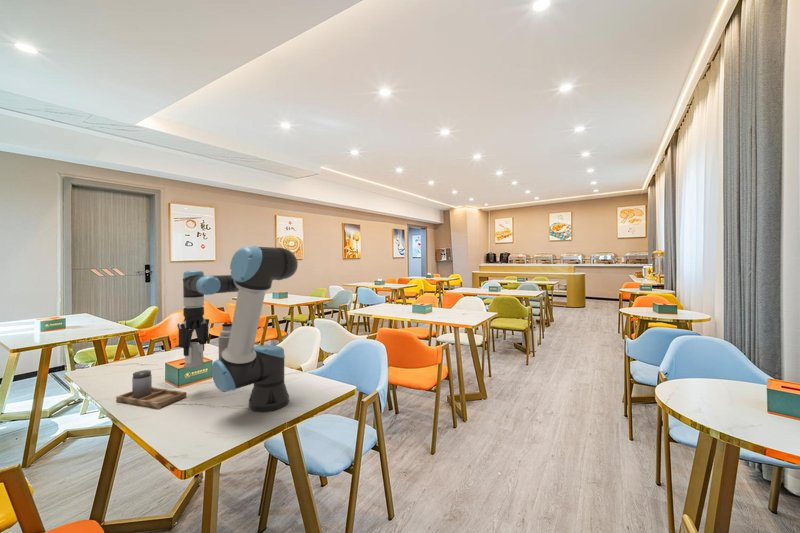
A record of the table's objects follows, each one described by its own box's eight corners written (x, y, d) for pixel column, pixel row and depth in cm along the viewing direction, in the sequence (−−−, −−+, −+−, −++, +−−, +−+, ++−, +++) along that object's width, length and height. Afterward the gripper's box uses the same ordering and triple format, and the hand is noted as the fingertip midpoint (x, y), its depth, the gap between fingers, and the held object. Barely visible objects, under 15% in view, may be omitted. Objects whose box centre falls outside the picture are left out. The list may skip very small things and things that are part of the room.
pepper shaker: (155, 394, 142) (155, 370, 142) (139, 400, 136) (139, 375, 136) (144, 392, 144) (144, 369, 144) (128, 398, 138) (128, 374, 138)
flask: (193, 369, 139) (192, 346, 138) (180, 368, 141) (178, 344, 140) (208, 363, 146) (207, 341, 145) (194, 362, 148) (193, 340, 147)
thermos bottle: (225, 379, 162) (225, 322, 162) (241, 380, 162) (240, 322, 161) (215, 385, 155) (214, 325, 154) (231, 386, 154) (231, 325, 153)
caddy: (186, 397, 141) (186, 392, 141) (158, 409, 129) (158, 403, 129) (146, 391, 148) (146, 386, 148) (116, 402, 136) (116, 396, 136)
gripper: (205, 303, 153) (205, 354, 153) (166, 309, 135) (167, 366, 136) (218, 304, 150) (218, 356, 151) (180, 310, 133) (181, 368, 133)
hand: (194, 361), depth 143 cm, fingers closed on flask, 5 cm apart
